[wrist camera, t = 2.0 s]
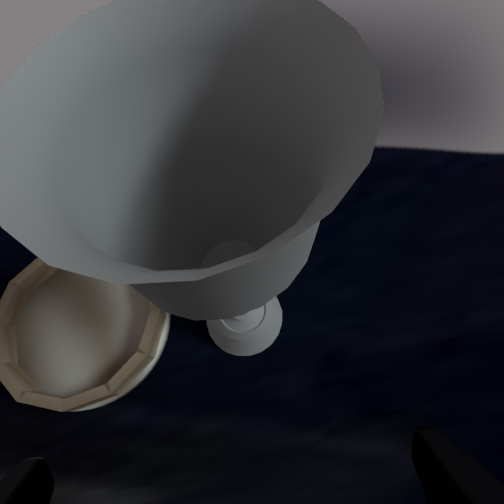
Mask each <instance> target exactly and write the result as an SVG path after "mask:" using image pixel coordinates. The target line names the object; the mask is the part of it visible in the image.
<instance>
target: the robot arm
mask: <svg viewBox="0 0 504 504" xmlns="http://www.w3.org/2000/svg"><path fill="white" fill-rule="evenodd" d="M411 454H412V459H413V463H414V466H415V468H416V471H417V474H418V477H419V479H420V482H421V485H422V488H423V490H424V493H425V496H426V499H427V501H428V504H504V484H503V483H502V482H500V481H499V480H498V479H497V478H495V477H494V476H493V475H492V474H491V473H489V472H488V471H487V470H486V469H484V468H483V467H482V466H481V465H480V464H478V463H477V462H476V461H475V460H473V459H472V458H471V457H470V456H469V455H467V454H466V453H465V452H464V451H462V450H461V449H460V448H459V447H458V446H456V445H455V444H454V443H453V442H451V441H450V440H449V439H448V438H447V437H445V436H444V435H443V434H442V433H440V432H439V431H438V430H437V429H435V428H434V427H430V426H428V427H417V428H416V429H415V430H414V435H413V442H412V449H411ZM53 490H54V478H53V475H52V473H51V471H50V469H49V466H48V464H47V462H46V460H45V459H44V458H42V457H39V458H28V459H25V460H24V461H22V462H21V463H20V464H19V465H17V466H16V467H15V468H14V469H13V470H12V471H10V472H9V473H8V474H7V475H6V476H5V477H4V478H2V479H1V480H0V504H49V503H50V499H51V496H52V493H53Z"/></svg>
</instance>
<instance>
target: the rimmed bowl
mask: <svg viewBox="0 0 504 504" xmlns="http://www.w3.org/2000/svg"><path fill="white" fill-rule="evenodd" d="M170 319H171V314H170V313H167V312H164V311H162V310H161V309H160V308H158V307H157V306H156V305H154V304H153V303H152V302H150V301H149V300H148V299H146V298H145V297H144V296H142V295H141V294H140V293H139V292H137V291H136V290H135V289H134V288H132V287H131V286H130V285H129V284H122V285H117V284H114V283H110V282H106V281H103V280H99V279H96V278H92V277H88V276H85V275H81V274H78V273H74V272H71V271H67V270H63V269H60V268H56V267H53V266H49V265H48V264H46V263H45V262H44V261H43V260H41V259H40V258H39V257H38V258H37V259H35V260H34V261H33V262H32V263H31V264H30V265H28V266H27V267H26V268H25V269H24V270H23V271H22V272H20V273H19V274H18V275H17V276H16V277H15V278H13V279H12V280H11V281H10V282H9V284H8V286H7V288H6V290H5V292H4V294H3V296H2V298H1V300H0V381H1V382H2V384H3V385H4V386H5V387H6V389H7V390H8V391H9V392H10V394H11V395H12V396H13V398H14V399H15V400H16V401H17V402H20V403H25V404H29V405H34V406H38V407H43V408H47V409H52V410H56V411H60V412H65V411H84V410H90V409H95V408H99V407H102V406H106V405H108V404H110V403H112V402H115V401H117V400H118V399H120V398H122V397H123V396H125V395H127V394H128V393H129V392H131V391H132V390H133V389H134V388H136V387H137V386H138V385H139V384H140V383H141V382H142V381H143V380H144V379H145V378H146V377H147V375H148V374H149V373H150V372H151V371H152V369H153V368H154V366H155V365H156V363H157V361H158V360H159V358H160V356H161V354H162V352H163V350H164V347H165V344H166V341H167V338H168V334H169V329H170Z"/></svg>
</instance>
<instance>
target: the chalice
mask: <svg viewBox="0 0 504 504" xmlns="http://www.w3.org/2000/svg"><path fill="white" fill-rule="evenodd" d="M383 115H384V104H383V96H382V88H381V81H380V73H379V66H378V64H377V63H376V61H375V59H374V58H373V56H372V55H371V53H370V51H369V50H368V48H367V46H366V45H365V43H364V41H363V40H362V38H361V37H360V35H359V33H358V32H357V30H356V28H354V27H353V26H352V25H350V24H349V23H348V22H346V21H345V20H344V19H343V18H341V17H340V16H339V15H337V14H336V13H335V12H333V11H332V10H331V9H330V8H328V7H327V6H326V5H324V4H323V3H322V2H320V1H318V0H114V1H111V2H109V3H107V4H105V5H103V6H101V7H98V8H96V9H94V10H92V11H89V12H87V13H85V14H83V15H81V16H79V17H78V18H77V19H75V20H74V21H73V22H71V23H70V24H68V25H67V26H65V27H64V28H63V29H61V30H60V31H58V32H57V33H55V34H54V35H53V36H51V37H50V38H48V39H47V40H46V41H44V42H43V43H41V44H40V45H39V46H38V47H37V48H36V49H35V50H34V51H33V53H32V54H31V55H30V56H29V57H28V58H27V59H26V60H25V61H24V63H23V64H22V65H21V66H20V67H19V68H18V69H17V70H16V71H15V73H14V74H13V75H12V76H11V77H10V78H9V79H8V81H7V82H6V83H5V84H4V86H3V88H2V90H1V93H0V226H1V227H2V228H3V229H4V230H5V231H7V232H8V233H9V234H10V235H12V236H13V237H14V238H15V239H17V240H18V241H19V242H20V243H21V244H23V245H24V246H25V247H26V248H28V249H29V250H30V251H31V252H33V253H34V254H35V255H36V256H38V257H39V258H40V259H41V260H43V261H44V262H45V263H46V264H48V265H49V266H53V267H56V268H60V269H63V270H67V271H71V272H74V273H78V274H81V275H85V276H88V277H92V278H96V279H99V280H103V281H106V282H110V283H114V284H117V285H122V284H129V285H130V286H131V287H132V288H134V289H135V290H136V291H137V292H139V293H140V294H141V295H142V296H144V297H145V298H146V299H148V300H149V301H150V302H152V303H153V304H154V305H156V306H157V307H158V308H160V309H161V310H162V311H164V312H167V313H171V314H174V315H178V316H181V317H184V318H188V319H191V320H207V326H208V330H209V334H210V336H211V337H212V339H213V340H214V342H215V343H216V345H218V346H219V347H220V348H221V349H223V350H224V351H225V352H228V353H231V354H233V355H236V356H251V355H253V354H256V353H259V352H262V351H263V350H265V349H266V348H267V347H269V346H270V345H271V344H272V343H273V341H274V340H275V339H276V337H277V336H278V334H279V331H280V328H281V324H282V310H281V307H280V304H279V301H278V299H277V298H276V296H277V295H278V294H279V293H281V292H282V291H283V290H285V289H286V288H287V287H288V286H289V285H290V284H291V282H292V281H293V280H294V278H295V277H296V276H297V274H298V273H299V272H300V270H301V269H302V268H303V266H304V265H305V264H306V262H307V259H308V256H309V253H310V250H311V247H312V244H313V241H314V238H315V236H316V232H317V229H318V226H319V223H320V220H321V219H323V218H324V217H325V216H327V215H328V214H330V213H331V212H332V211H333V210H334V208H335V207H336V206H337V204H338V203H339V202H340V200H341V199H342V198H343V197H344V195H345V194H346V193H347V191H348V190H349V189H350V187H351V186H352V185H353V183H354V182H355V181H356V179H357V178H358V177H359V175H360V174H361V173H362V172H363V170H364V169H365V168H366V166H367V165H368V164H369V162H370V159H371V156H372V152H373V149H374V146H375V142H376V139H377V135H378V132H379V129H380V125H381V122H382V119H383Z"/></svg>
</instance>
